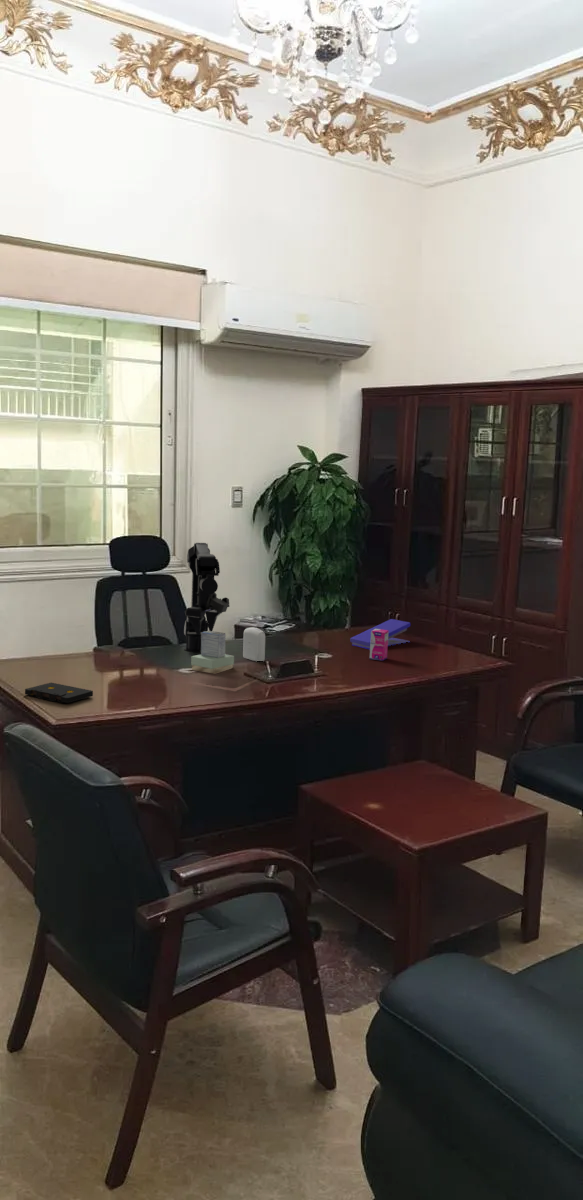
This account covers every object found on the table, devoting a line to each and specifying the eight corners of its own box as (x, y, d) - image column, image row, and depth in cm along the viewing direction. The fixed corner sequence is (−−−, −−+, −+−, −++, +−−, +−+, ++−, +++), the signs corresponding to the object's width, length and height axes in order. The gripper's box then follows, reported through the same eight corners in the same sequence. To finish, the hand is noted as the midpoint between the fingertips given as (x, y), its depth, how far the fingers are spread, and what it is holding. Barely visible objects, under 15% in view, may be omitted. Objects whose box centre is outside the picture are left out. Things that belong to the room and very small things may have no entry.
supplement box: (369, 659, 360) (370, 630, 358) (373, 656, 365) (374, 628, 364) (383, 661, 358) (384, 632, 356) (387, 658, 363) (389, 629, 362)
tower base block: (191, 673, 329) (192, 665, 329) (209, 667, 340) (210, 659, 340) (215, 677, 325) (215, 668, 324) (233, 671, 335) (233, 663, 335)
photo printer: (241, 657, 353) (242, 626, 352) (250, 656, 356) (251, 625, 354) (257, 662, 346) (258, 630, 344) (266, 661, 348) (267, 629, 346)
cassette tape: (24, 695, 287) (24, 688, 287) (51, 688, 297) (51, 681, 297) (67, 704, 279) (67, 697, 278) (93, 696, 289) (93, 689, 288)
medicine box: (225, 656, 332) (226, 632, 331) (218, 658, 328) (219, 634, 327) (207, 653, 335) (207, 630, 334) (200, 655, 332) (201, 632, 330)
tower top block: (191, 664, 330) (191, 656, 330) (213, 659, 340) (213, 651, 339) (211, 668, 324) (211, 660, 324) (233, 664, 334) (234, 655, 333)
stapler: (411, 644, 397) (413, 622, 395) (370, 651, 377) (371, 628, 376) (391, 640, 405) (392, 618, 403) (349, 647, 385) (350, 624, 384)
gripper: (212, 595, 318) (211, 639, 320) (237, 589, 335) (236, 631, 337) (185, 592, 322) (184, 635, 325) (211, 586, 339) (209, 628, 342)
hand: (204, 632), depth 332 cm, fingers open, 9 cm apart
